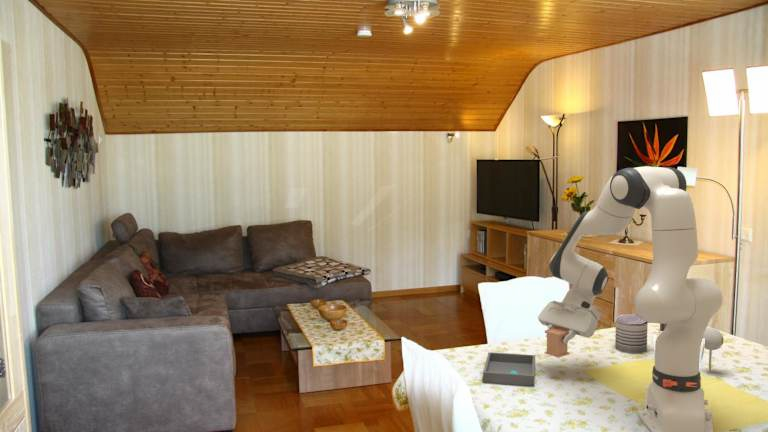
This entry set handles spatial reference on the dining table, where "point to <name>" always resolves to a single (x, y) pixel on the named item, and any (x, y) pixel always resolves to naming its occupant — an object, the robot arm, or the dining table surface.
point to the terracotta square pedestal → (556, 342)
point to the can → (631, 334)
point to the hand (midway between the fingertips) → (555, 340)
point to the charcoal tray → (509, 369)
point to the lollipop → (712, 342)
